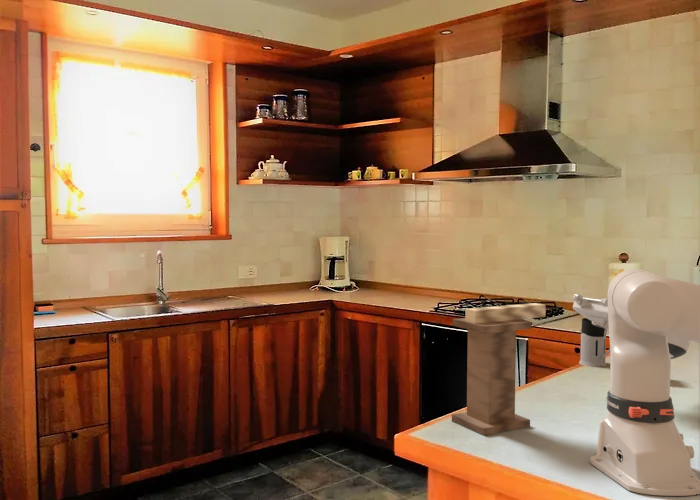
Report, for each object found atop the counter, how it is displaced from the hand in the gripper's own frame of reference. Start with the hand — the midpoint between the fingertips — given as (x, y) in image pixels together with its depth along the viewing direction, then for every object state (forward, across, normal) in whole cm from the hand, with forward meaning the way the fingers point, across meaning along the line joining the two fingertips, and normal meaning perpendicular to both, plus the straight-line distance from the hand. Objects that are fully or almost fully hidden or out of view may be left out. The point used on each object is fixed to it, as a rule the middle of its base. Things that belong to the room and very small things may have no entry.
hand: (588, 298), depth 171 cm
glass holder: (-48, +34, -8) cm, 60 cm away
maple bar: (+22, 0, -15) cm, 27 cm away
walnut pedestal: (+15, 0, -39) cm, 42 cm away
